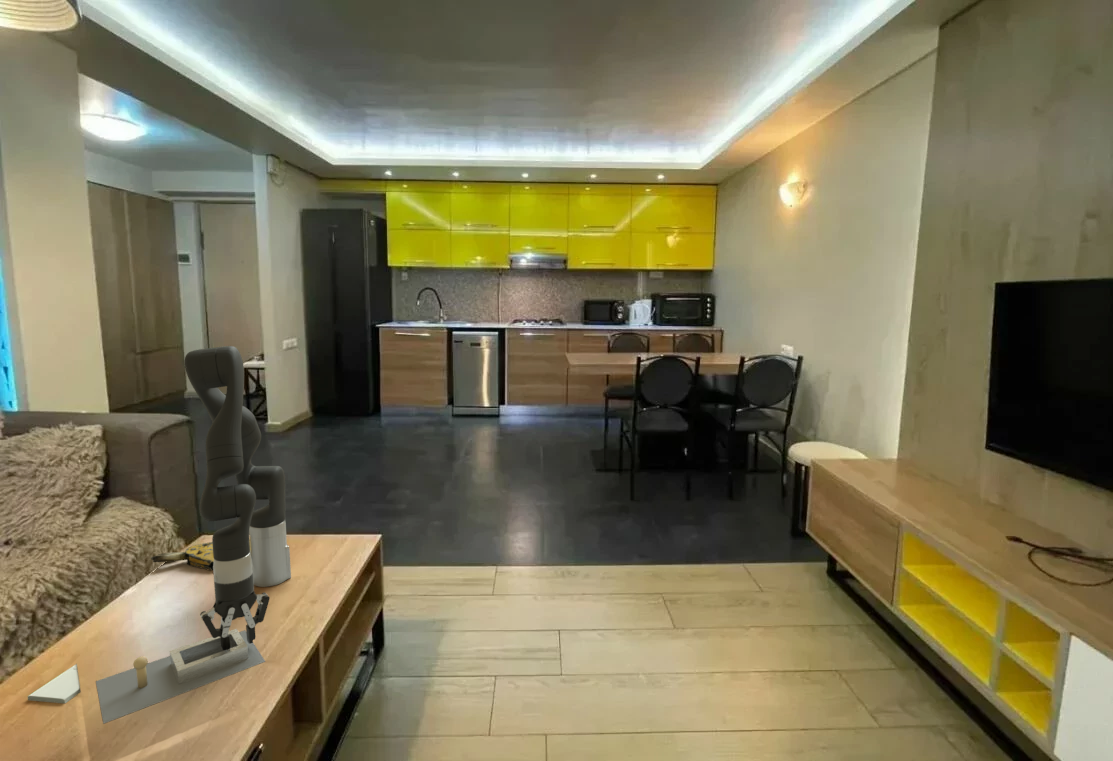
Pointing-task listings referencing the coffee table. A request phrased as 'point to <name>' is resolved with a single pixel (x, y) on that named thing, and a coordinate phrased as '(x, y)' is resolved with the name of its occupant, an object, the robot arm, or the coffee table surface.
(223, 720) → the coffee table surface
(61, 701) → the external hard drive
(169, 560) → the pulley block
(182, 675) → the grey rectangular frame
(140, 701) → the board
